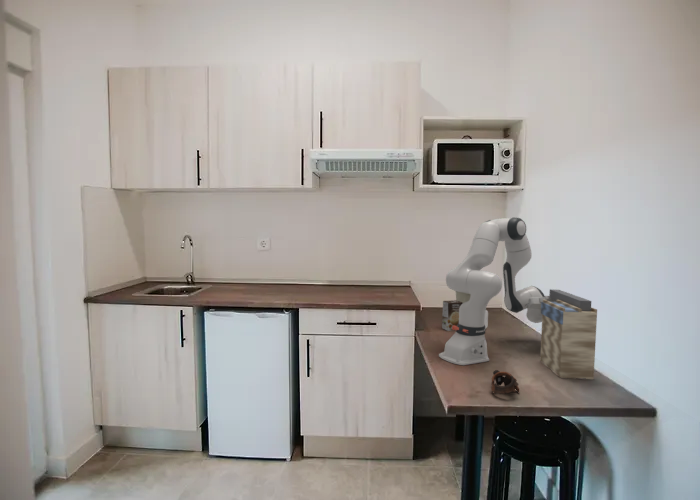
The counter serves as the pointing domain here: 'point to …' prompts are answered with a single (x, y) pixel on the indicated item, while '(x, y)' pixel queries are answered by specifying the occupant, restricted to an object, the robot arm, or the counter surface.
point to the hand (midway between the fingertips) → (559, 297)
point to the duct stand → (568, 339)
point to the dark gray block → (570, 299)
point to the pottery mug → (508, 381)
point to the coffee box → (450, 314)
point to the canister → (462, 297)
